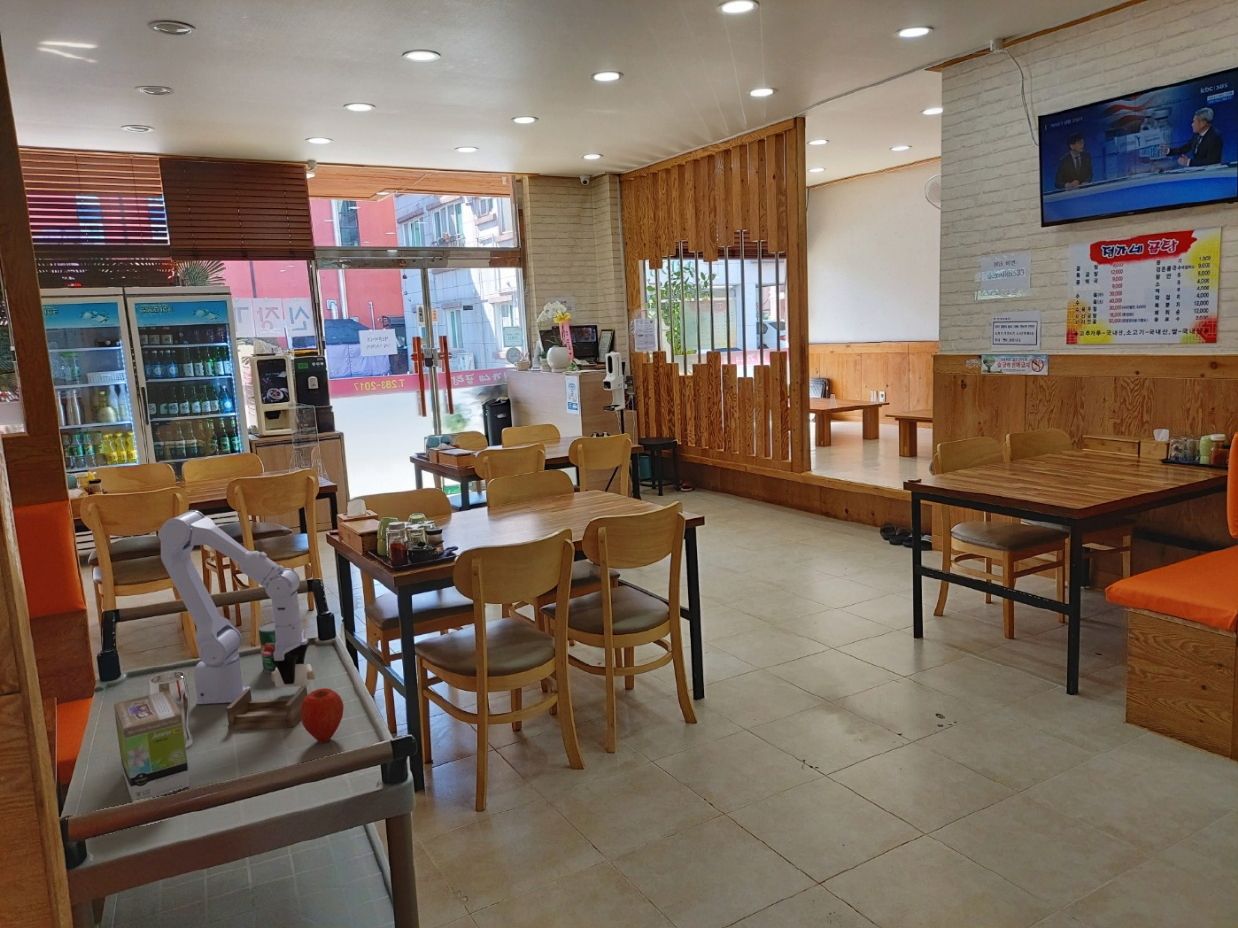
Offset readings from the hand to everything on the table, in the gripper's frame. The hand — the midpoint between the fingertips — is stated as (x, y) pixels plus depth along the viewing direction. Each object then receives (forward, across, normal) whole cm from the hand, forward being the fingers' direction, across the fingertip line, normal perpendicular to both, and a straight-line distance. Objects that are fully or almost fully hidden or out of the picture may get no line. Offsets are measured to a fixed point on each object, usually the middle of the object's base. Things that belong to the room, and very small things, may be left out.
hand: (293, 678), depth 204 cm
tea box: (+4, -38, +13) cm, 40 cm away
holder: (+4, -13, +1) cm, 14 cm away
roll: (-1, 0, 0) cm, 1 cm away
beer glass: (+4, -24, +16) cm, 29 cm away
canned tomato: (+4, +17, +10) cm, 20 cm away
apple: (+4, -25, -15) cm, 29 cm away
